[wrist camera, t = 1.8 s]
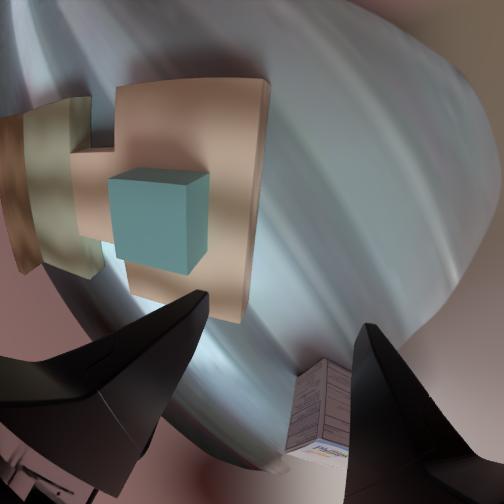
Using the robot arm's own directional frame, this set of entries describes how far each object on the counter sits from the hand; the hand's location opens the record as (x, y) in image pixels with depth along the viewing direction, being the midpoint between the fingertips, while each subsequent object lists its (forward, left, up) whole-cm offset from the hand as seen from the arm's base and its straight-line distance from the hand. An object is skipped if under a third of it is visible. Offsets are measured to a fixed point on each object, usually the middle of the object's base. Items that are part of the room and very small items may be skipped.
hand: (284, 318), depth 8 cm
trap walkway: (0, +15, -10) cm, 18 cm away
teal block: (0, +8, -8) cm, 11 cm away
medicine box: (-16, -7, -10) cm, 20 cm away
